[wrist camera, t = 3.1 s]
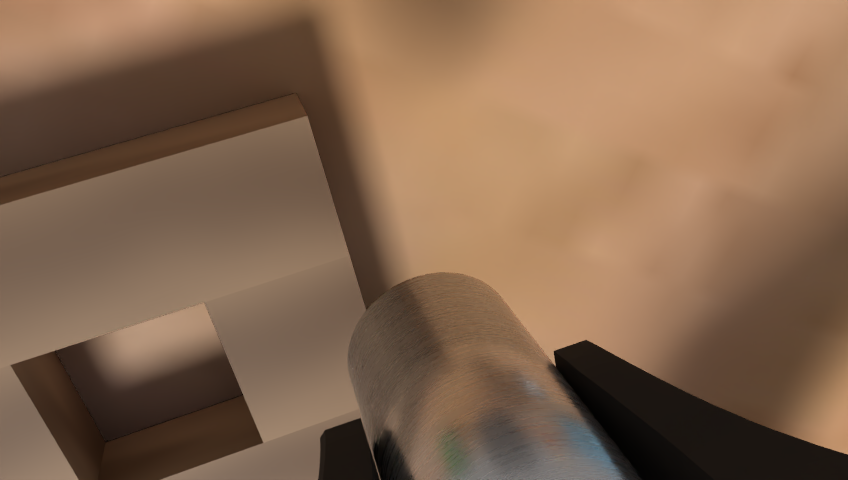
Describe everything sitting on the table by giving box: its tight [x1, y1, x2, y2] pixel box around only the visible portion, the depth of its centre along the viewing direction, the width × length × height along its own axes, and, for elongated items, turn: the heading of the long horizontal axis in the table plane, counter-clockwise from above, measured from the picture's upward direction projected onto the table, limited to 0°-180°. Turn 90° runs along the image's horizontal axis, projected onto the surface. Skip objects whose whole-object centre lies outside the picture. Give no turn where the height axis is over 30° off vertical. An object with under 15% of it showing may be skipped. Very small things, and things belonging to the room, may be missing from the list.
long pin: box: [347, 273, 643, 480], centre depth 11 cm, size 3×3×7 cm
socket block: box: [0, 93, 381, 480], centre depth 19 cm, size 12×12×2 cm
